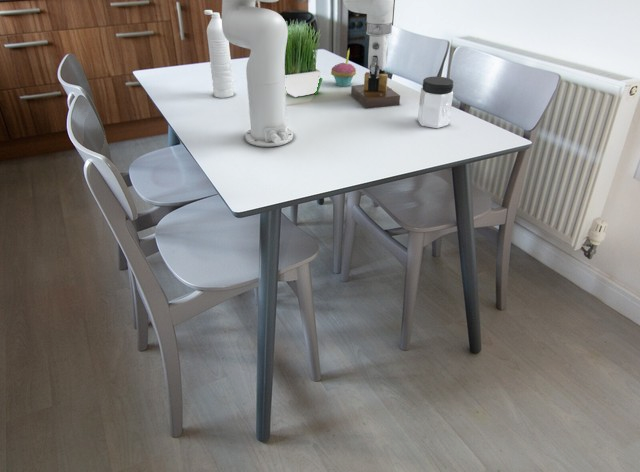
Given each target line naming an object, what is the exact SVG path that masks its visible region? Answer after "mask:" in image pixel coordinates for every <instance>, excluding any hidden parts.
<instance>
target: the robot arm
mask: <svg viewBox="0 0 640 472" xmlns="http://www.w3.org/2000/svg"><path fill="white" fill-rule="evenodd" d="M278 1H280V0H222V2H221V20H222V30H223V33H224V35H225V37H226V39H227V40H228V41H229V44H232V45H234V46H237V47H239V48H243V49H244V48H245V49H247V50H250V53H249V57H248V60H247V63H246V67H245V69H246V70H245V74H246V84H247V96H248V111H249V112H248V113H249V125H250V129H249V130H248V131H246V132H245V135H244V136H245V141H246V142H247V143H248V144H251V145H253V146H257V147H262V148H263V147H266V148H268V147H269V148H271V147H279V146H283V145H285V144H288V143H289V142H291V141H292V140H293V139H294V132H293V131H292V129H290V128H288V123H287V122H288V118H287V117H288V115H287V91H286V87H285V78H286V65H285V64H286V50H287V43H288V38H289V31H288V30H289V29H288V25H287V22H286V20H285V19H284V18H283V15H281V14H280V13H278V12H277V11H274V10H272V9H269V8H264V7H258V6H256V3H257V2H261V3H276V2H278ZM342 2H343V5H344V7H345V8H346V9H347V10H348V11H350V12H353V13H357V14H364V15H366V29H365V34H366V35H367V36H369V37H368V38H369V40H368V54H367V56H368V57H367V69H368V70H369V71H368V72H369V78H368V91H378V89H379V78H378V76H379V74H384V70H385V69H386V67H387V65H388V57H389V56H388V55H389V54H388V53H389V36H391V35H392V29H393V18H394V5H395V0H342Z"/></svg>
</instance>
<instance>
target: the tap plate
mask: <svg viewBox="0 0 640 472" xmlns="http://www.w3.org/2000/svg"><path fill="white" fill-rule="evenodd" d="M350 87H351V89H350V95H351V96H352V97H353V98H354V99H355V100H356V101H358V103H360V104H361V105H362V106H363V107H364V108H365V109H374V108H384V107H392V106H393V107H394V106H400V103H401V95H400V94H398V93H397V92H396V91H394V90H393V89H392V87H390V86H388V85H387V90H386V92H381V91H367V90H364V84H356V85H351V86H350Z"/></svg>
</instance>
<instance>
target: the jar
mask: <svg viewBox="0 0 640 472" xmlns="http://www.w3.org/2000/svg"><path fill="white" fill-rule="evenodd" d="M453 89H454V80H453V79H451V78H450V77H449V78H448V77H445V76H427V77H424V78H423V80H422V87H420V94H419V105H418V111H417V121H418V123H419V124H420V126H422V127H427V128H432V129H433V128H434V129H439V128H443V127H446V126H449V123H450V117H451V111H452V105H453V98H454V91H453Z"/></svg>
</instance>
